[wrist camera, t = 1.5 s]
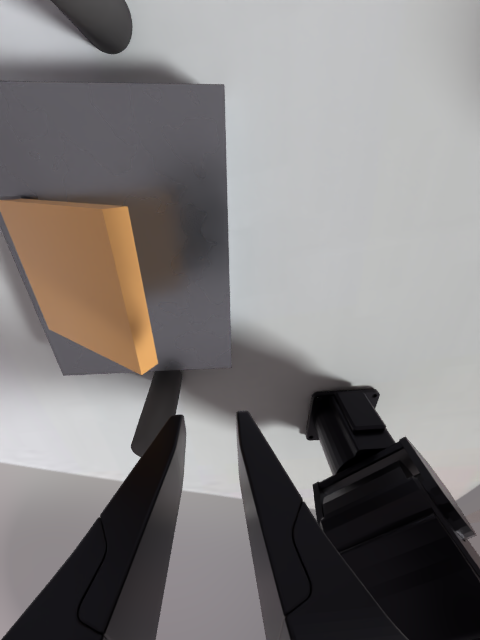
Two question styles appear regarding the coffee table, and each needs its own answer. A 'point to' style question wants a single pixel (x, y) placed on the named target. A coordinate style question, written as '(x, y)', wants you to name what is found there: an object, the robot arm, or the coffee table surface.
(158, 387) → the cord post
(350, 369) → the coffee table surface
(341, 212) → the coffee table surface
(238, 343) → the coffee table surface
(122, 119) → the grey flat block
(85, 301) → the orange flat block
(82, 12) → the post
